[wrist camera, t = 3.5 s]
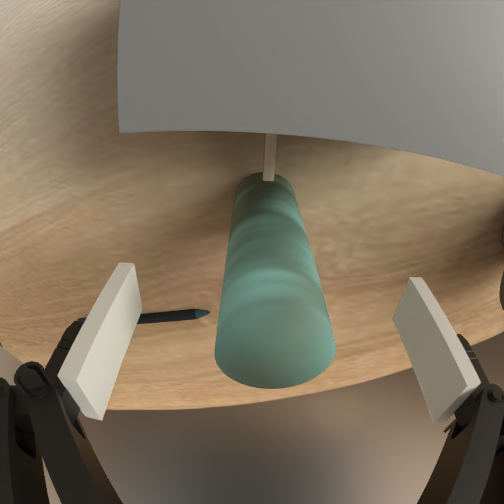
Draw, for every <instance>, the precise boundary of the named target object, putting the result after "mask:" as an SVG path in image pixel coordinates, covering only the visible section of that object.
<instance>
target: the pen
mask: <svg viewBox="0 0 504 504" xmlns="http://www.w3.org/2000/svg"><path fill="white" fill-rule="evenodd" d="M208 313H210V312H207V311H206V310H199V309H189V310H179V311H169V312H158V313H147V314H140V317H139V319H138V322H137V324H145V323H158V322H170V321H181V320H192V319H198V318H200V317H203V316H205V315H207V314H208ZM85 320H86V318H81V319H79V320H78V322H85Z"/></svg>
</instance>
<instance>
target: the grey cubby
mask: <svg viewBox="0 0 504 504" xmlns="http://www.w3.org/2000/svg"><path fill="white" fill-rule="evenodd" d="M117 96H118V123H119V133H134V132H155V131H232V132H255V133H271V134H284V135H296V136H306V137H315V138H324V139H332V140H340V141H347V142H354V143H361V144H367V145H374V146H379V147H385V148H391V149H396V150H401V151H406V152H411V153H416V154H421V155H425V156H430V157H434V158H439V159H443V160H447V161H451V162H455V163H459V164H463V165H466V166H470V167H474V168H477V169H481V170H484V171H488V172H491V173H494V174H498V175H501V176H504V0H120V12H119V27H118V53H117Z"/></svg>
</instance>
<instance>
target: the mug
mask: <svg viewBox="0 0 504 504" xmlns="http://www.w3.org/2000/svg"><path fill="white" fill-rule="evenodd" d="M503 245H504V227H503ZM500 302H501V306H502V308H503V310H504V272H503V276H502V280H501V285H500Z"/></svg>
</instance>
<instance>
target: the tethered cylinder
mask: <svg viewBox="0 0 504 504" xmlns="http://www.w3.org/2000/svg"><path fill="white" fill-rule="evenodd" d="M277 136H278V134H271V133H266V138H265V153H264V167H263V173H257V174H254V175H251V176H250V177H248V178H246V179H245V180H244V181H243V182H242V183H241V184H240V186H239V187H238V189H237V192H236V195H235V201H234V208H233V215H232V222H231V229H230V236H229V243H228V250H227V258H226V265H225V272H224V280H223V288H222V295H221V303H220V311H219V319H218V327H217V335H216V343H215V360H216V362H217V365H218V366H219V368H220V369H221V370H222V371H223V373H225V374H226V375H227V376H228V377H230V378H231V379H233V380H235V381H237V382H239V383H241V384H244V385H248V386H251V387H256V388H265V389H277V388H286V387H291V386H295V385H299V384H302V383H305V382H307V381H309V380H311V379H313V378H315V377H316V376H318V375H319V374H321V373H322V372H323V371H324V370H325V369H326V368H327V367H328V366H329V365H330V363H331V362H332V360H333V358H334V355H335V350H336V346H335V340H334V336H333V332H332V328H331V324H330V319H329V315H328V311H327V308H326V304H325V300H324V296H323V292H322V288H321V284H320V281H319V277H318V273H317V270H316V266H315V262H314V259H313V255H312V252H311V248H310V245H309V241H308V238H307V234H306V231H305V227H304V224H303V221H302V217H301V214H300V211H299V207H298V204H297V201H296V197H295V194H294V191H293V189H292V187H291V185H290V184H289V183H288V182H287V181H286V180H285V179H284V178H283V177H281V176H279V175H276V174H274V172H275V160H276V148H277Z"/></svg>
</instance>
